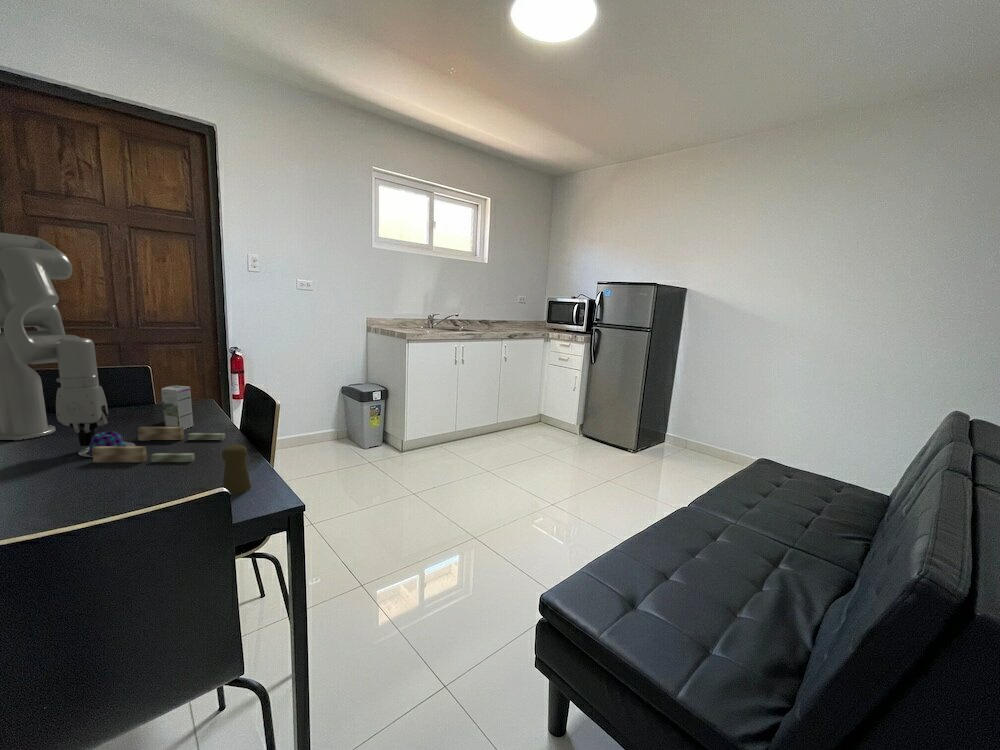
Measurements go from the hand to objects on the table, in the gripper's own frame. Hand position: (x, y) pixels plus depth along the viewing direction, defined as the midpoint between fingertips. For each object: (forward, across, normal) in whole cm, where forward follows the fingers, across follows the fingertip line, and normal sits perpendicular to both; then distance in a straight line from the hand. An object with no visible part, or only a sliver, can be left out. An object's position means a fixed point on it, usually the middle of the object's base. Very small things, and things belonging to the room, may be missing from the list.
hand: (87, 444), depth 120 cm
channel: (+2, +20, 0) cm, 20 cm away
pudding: (+2, +5, 0) cm, 6 cm away
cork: (+2, +51, -27) cm, 58 cm away
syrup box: (+2, +13, +20) cm, 24 cm away
